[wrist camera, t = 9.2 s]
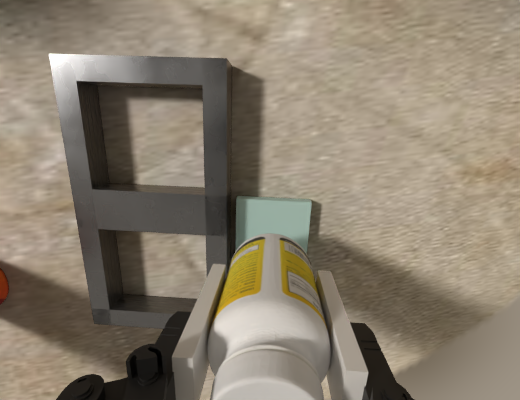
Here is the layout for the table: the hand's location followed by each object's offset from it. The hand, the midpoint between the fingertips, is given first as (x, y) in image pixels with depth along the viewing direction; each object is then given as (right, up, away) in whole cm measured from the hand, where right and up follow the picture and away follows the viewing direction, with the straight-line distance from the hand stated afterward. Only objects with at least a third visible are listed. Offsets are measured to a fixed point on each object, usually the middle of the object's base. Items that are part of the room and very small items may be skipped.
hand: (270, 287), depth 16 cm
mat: (0, +2, +5) cm, 6 cm away
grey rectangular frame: (-8, +5, +5) cm, 11 cm away
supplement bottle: (0, +1, +2) cm, 3 cm away
